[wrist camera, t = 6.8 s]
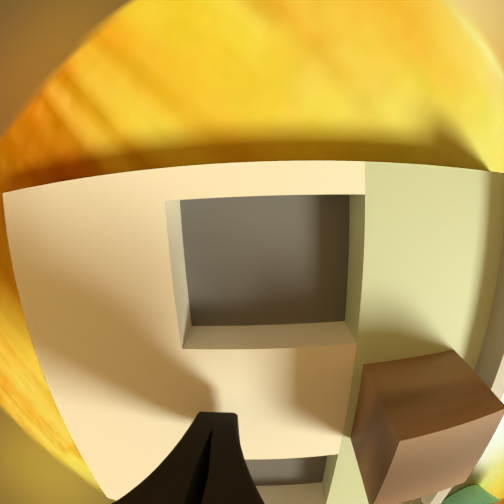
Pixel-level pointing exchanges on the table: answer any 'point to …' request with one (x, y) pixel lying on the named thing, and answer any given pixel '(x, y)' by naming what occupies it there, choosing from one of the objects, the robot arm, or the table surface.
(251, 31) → the table surface
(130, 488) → the board
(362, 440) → the walnut block
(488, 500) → the cupcake
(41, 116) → the table surface
